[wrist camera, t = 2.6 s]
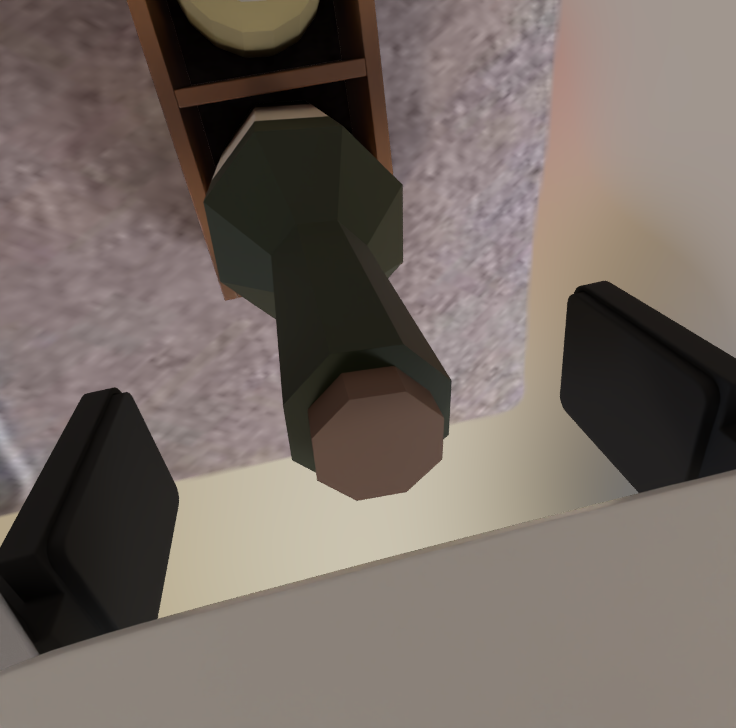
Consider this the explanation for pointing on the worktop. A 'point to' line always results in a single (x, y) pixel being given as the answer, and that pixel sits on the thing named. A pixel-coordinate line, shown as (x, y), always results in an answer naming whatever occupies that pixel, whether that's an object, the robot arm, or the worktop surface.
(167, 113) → the bottle rack
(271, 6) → the squeeze bottle
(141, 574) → the robot arm
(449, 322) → the worktop surface
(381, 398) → the wine bottle
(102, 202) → the worktop surface
